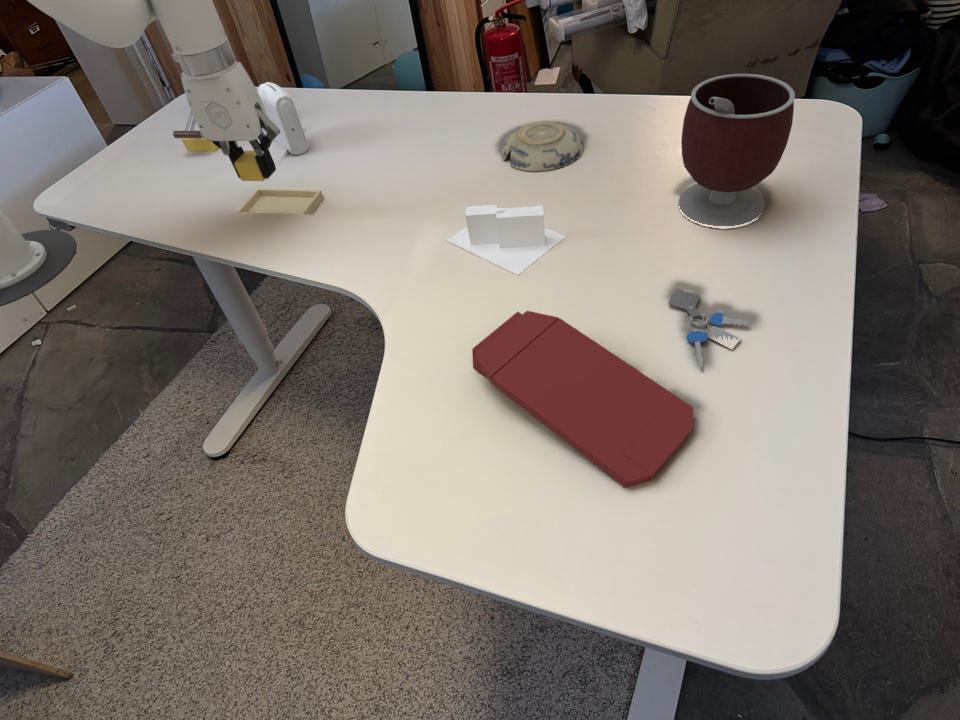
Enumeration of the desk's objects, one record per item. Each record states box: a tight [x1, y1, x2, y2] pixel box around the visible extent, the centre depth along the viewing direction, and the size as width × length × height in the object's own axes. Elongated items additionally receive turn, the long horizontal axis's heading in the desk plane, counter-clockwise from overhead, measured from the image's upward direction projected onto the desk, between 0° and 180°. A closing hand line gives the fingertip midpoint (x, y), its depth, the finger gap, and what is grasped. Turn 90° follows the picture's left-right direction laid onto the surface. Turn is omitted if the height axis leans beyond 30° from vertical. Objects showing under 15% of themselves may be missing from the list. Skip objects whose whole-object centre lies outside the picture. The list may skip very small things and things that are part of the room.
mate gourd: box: [678, 73, 796, 226], centre depth 84 cm, size 16×14×20 cm
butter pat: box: [234, 150, 266, 182], centre depth 98 cm, size 4×4×3 cm
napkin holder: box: [446, 204, 567, 276], centre depth 91 cm, size 15×11×6 cm
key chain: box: [667, 288, 751, 369], centre depth 75 cm, size 14×8×1 cm, turn 5°
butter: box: [181, 137, 220, 152], centre depth 126 cm, size 3×7×4 cm, turn 76°
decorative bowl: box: [500, 120, 585, 173], centre depth 109 cm, size 15×4×15 cm
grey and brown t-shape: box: [172, 110, 202, 139], centre depth 123 cm, size 14×6×2 cm, turn 166°
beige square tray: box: [236, 188, 324, 216], centre depth 105 cm, size 13×13×2 cm
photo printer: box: [257, 81, 309, 156], centre depth 119 cm, size 10×4×12 cm, turn 37°
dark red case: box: [471, 310, 694, 488], centre depth 69 cm, size 12×5×25 cm
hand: (257, 173), depth 99 cm, fingers closed on butter pat, 4 cm apart
